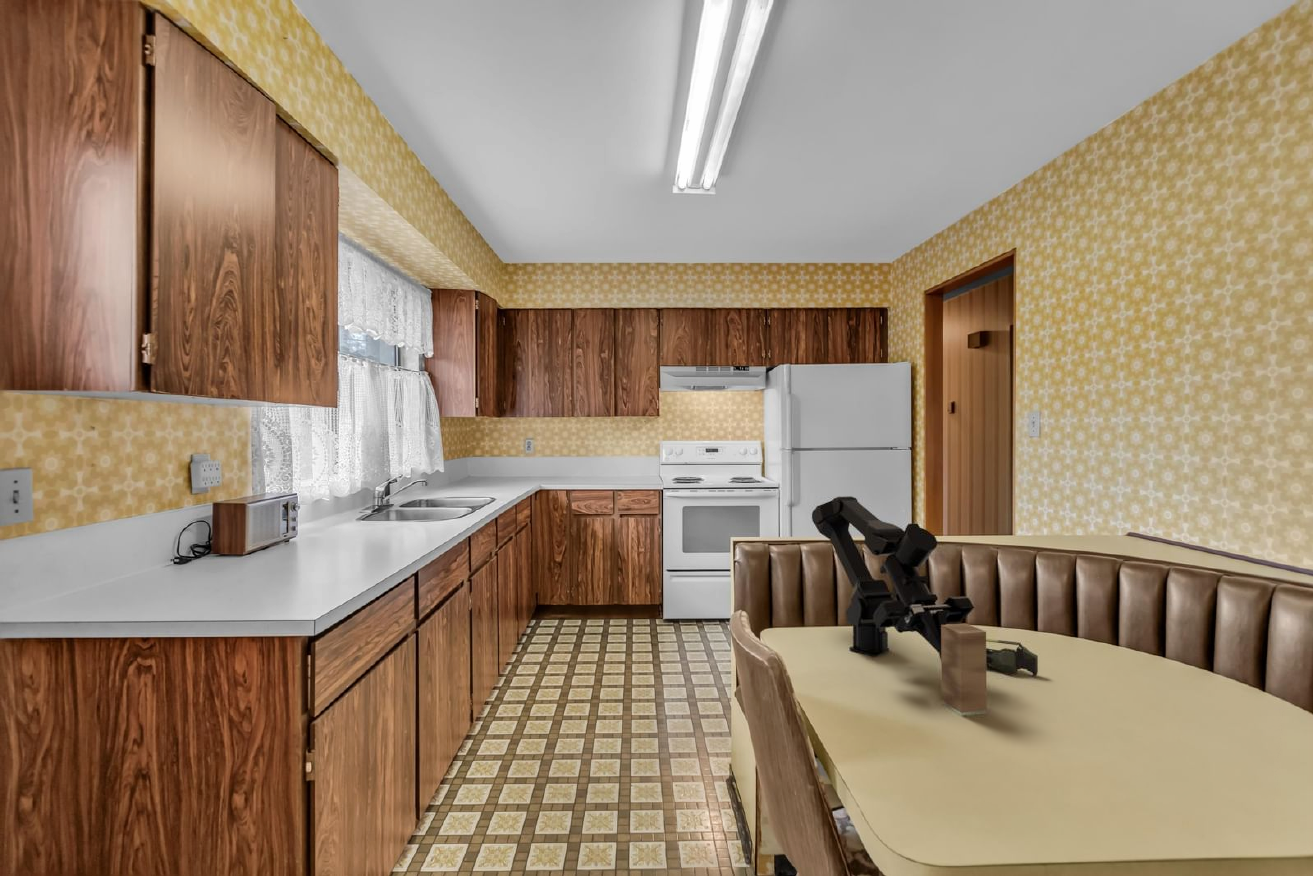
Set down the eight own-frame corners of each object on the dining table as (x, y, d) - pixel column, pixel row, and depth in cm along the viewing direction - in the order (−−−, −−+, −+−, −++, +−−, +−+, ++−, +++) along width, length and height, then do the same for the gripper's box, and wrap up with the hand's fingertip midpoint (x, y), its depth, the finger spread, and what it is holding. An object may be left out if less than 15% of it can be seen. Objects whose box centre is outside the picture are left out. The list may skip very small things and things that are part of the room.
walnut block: (941, 704, 109) (941, 625, 109) (966, 701, 110) (965, 623, 110) (961, 716, 104) (960, 633, 104) (986, 713, 105) (986, 631, 105)
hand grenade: (942, 655, 134) (1038, 674, 123) (936, 662, 130) (1036, 682, 119) (942, 627, 134) (1038, 643, 123) (936, 632, 130) (1035, 649, 119)
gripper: (930, 599, 131) (966, 669, 120) (850, 604, 127) (880, 677, 116) (954, 569, 123) (996, 641, 112) (870, 573, 119) (905, 648, 108)
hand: (943, 653), depth 112 cm, fingers closed
